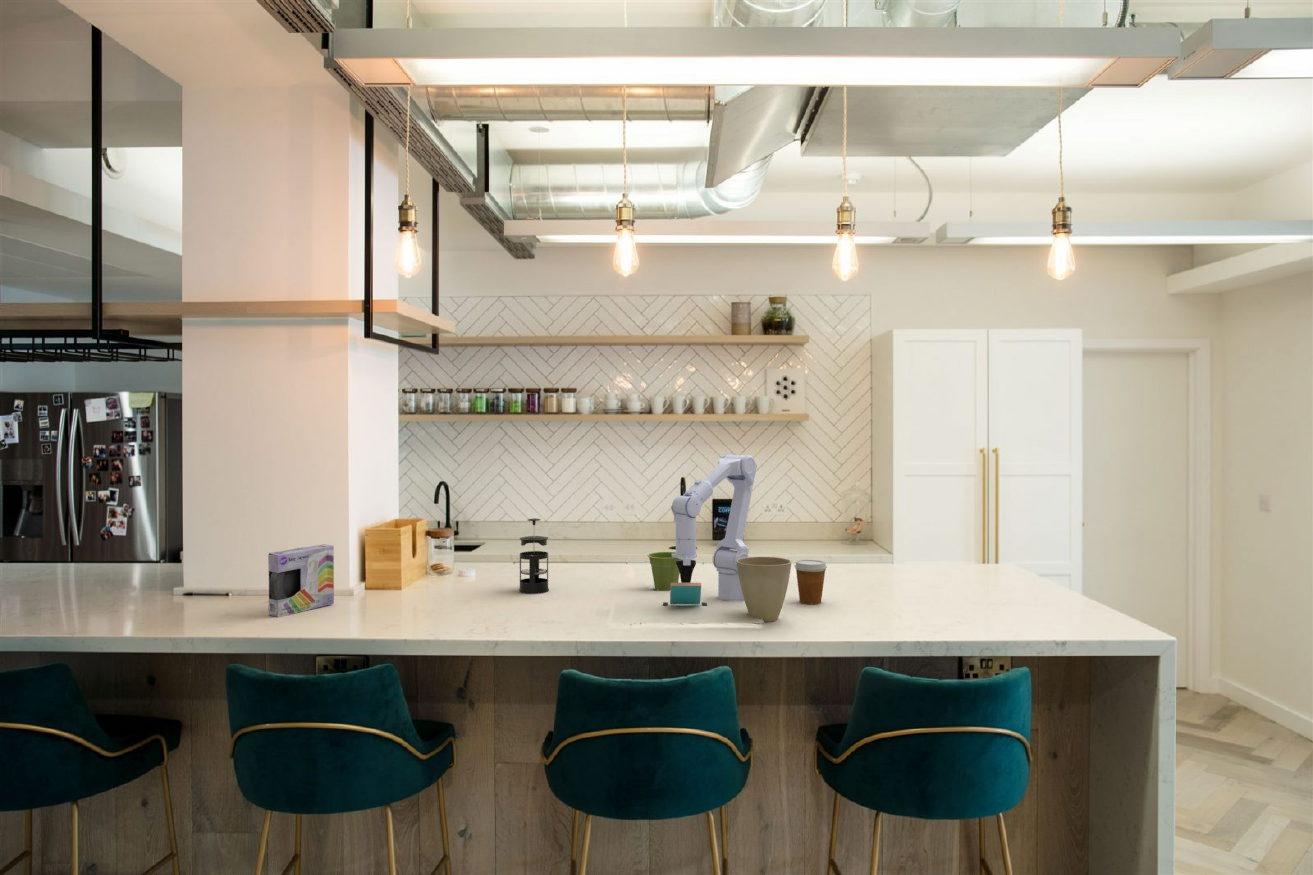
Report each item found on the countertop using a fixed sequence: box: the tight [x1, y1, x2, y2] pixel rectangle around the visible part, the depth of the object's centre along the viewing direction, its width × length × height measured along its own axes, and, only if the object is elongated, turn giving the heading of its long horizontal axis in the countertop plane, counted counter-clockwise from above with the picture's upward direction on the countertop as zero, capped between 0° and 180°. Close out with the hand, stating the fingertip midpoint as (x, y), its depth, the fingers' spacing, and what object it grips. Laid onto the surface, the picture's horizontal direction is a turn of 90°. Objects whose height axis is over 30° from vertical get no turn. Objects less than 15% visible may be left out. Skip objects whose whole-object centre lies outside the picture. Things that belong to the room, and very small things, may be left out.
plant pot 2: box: [736, 556, 792, 623], centre depth 220 cm, size 15×15×16 cm
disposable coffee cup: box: [794, 559, 828, 605], centre depth 241 cm, size 10×10×12 cm
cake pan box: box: [267, 543, 335, 618], centre depth 228 cm, size 19×5×18 cm, turn 149°
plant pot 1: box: [647, 551, 682, 592], centre depth 259 cm, size 12×12×11 cm
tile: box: [669, 582, 702, 605], centre depth 228 cm, size 9×1×9 cm
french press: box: [518, 517, 550, 595], centre depth 257 cm, size 12×9×23 cm
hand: (685, 586), depth 227 cm, fingers closed, pressing on tile
